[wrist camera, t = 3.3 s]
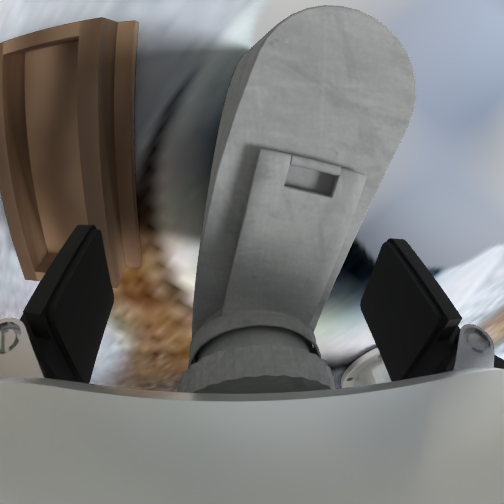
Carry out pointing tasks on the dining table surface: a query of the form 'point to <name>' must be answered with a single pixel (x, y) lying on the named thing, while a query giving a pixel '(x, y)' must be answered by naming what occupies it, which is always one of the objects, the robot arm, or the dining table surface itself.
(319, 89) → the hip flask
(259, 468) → the robot arm
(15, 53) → the walnut stand
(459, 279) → the dining table surface
